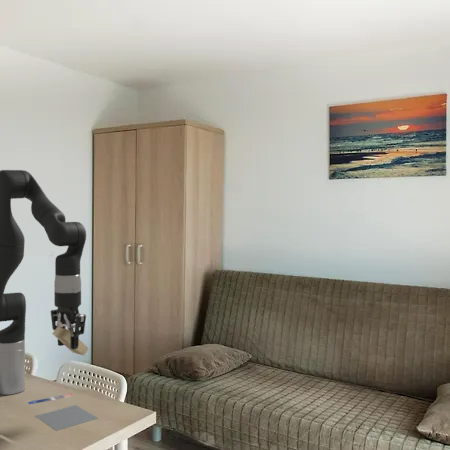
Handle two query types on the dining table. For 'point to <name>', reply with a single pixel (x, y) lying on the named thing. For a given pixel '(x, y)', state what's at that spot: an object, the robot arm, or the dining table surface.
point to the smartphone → (52, 398)
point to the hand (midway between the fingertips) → (68, 346)
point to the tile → (69, 340)
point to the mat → (66, 417)
